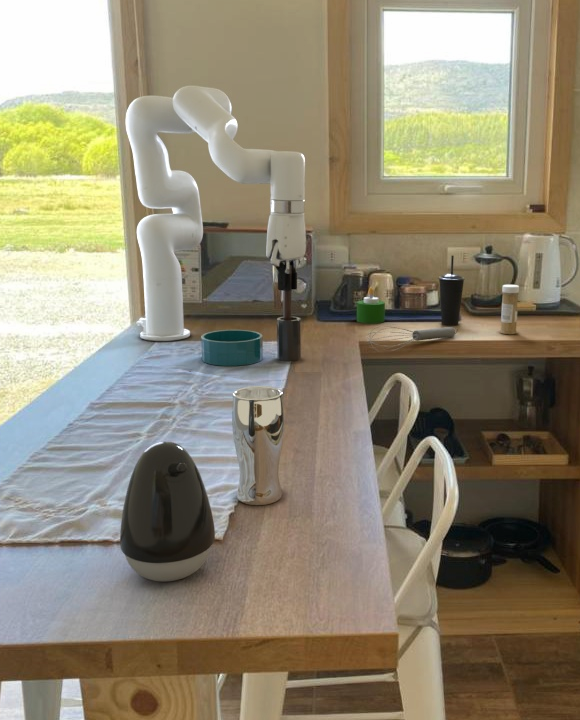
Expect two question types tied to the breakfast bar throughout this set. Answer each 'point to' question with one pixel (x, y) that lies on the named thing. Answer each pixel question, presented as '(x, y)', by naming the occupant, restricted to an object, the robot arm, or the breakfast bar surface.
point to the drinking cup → (450, 296)
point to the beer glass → (258, 442)
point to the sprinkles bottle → (509, 309)
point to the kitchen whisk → (420, 335)
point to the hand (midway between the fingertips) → (287, 289)
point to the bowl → (232, 347)
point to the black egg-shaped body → (166, 515)
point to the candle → (370, 309)
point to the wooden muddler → (287, 300)
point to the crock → (289, 339)
